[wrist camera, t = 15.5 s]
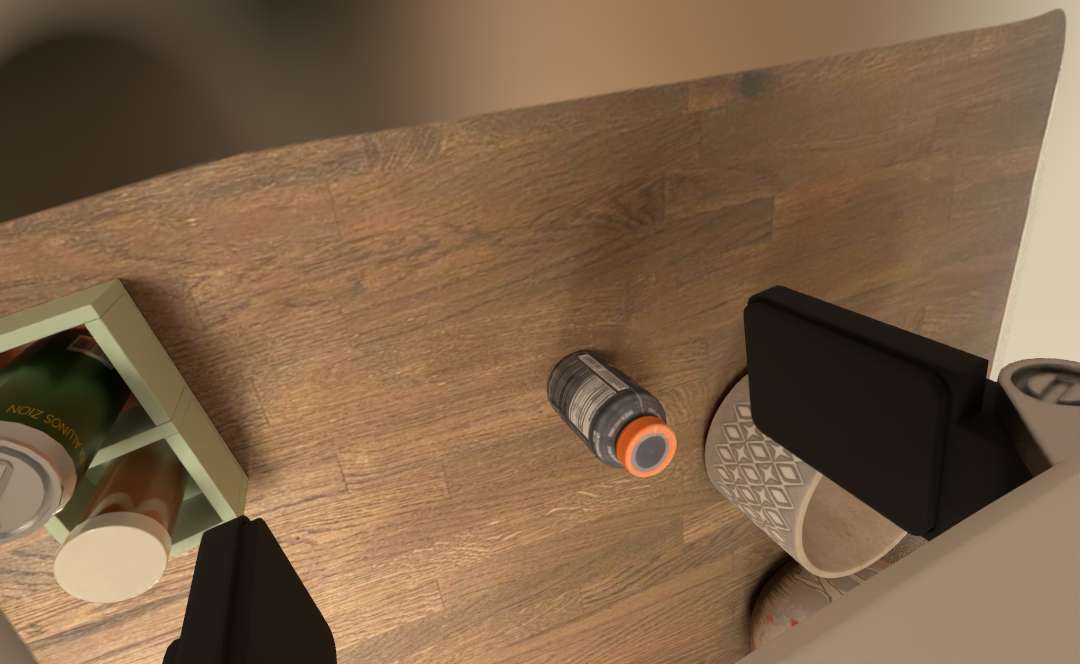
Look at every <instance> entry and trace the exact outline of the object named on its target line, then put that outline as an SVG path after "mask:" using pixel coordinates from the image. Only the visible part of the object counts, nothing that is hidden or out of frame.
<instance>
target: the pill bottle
mask: <svg viewBox="0 0 1080 664" xmlns="http://www.w3.org/2000/svg"><path fill="white" fill-rule="evenodd" d="M547 393H548V399H549V401H550V404H551V405H552V407H553V409H554V410H555V411H556V412H557V413H558V414H559V415H560V417H561V418H562V419H563V420H564V421H565V422H566V424H567V425H568V426H569V427H570V428H571V429H572V430H573V431H574V432H575V433H576V435H577V436H578V437H579V438H580V439H581V440H582V441H583V442H584V443H585V444H586V446H587V447H588V448H589V449H590V450H591V451H592V452H593V453H594V454H595V455H596V457H597V458H598V459H599V460H600V461H601V462H603V463H604V464H606V465H608V466H610V467H613V468H626V469H627V470H628V471H629V472H631V473H632V474H633V475H635V476H638V477H649V476H652V475H655V474H657V473H659V472H660V471H662V470H663V469H664V468H665V467H666V466H667V465H668V464H669V462H670V461H671V459H672V458H673V456H674V453H675V450H676V445H677V442H676V436H675V433H674V432H673V430H672V429H671V428H670V427H669V426H668V425H666V415H665V411H664V409H663V407H662V405H661V403H660V402H659V401H658V400H657V399H656V398H655V397H654V396H653V395H651V394H650V393H649V392H648V391H646V390H645V389H644V388H643V387H641V386H640V385H638V384H637V383H636V382H635V381H633V380H632V379H631V378H630V377H628V376H627V375H626V374H624V373H623V372H622V371H620V370H619V369H618V368H617V367H615V366H614V365H613V364H611V363H610V362H609V361H607V360H606V359H605V358H603V357H602V356H600V355H599V354H597V353H594V352H589V351H582V352H577V353H574V354H572V355H570V356H568V357H566V358H565V359H564V360H562V361H561V362H560V363H559V364H558V365H557V366H556V367H555V369H554V370H553V372H552V374H551V376H550V379H549V382H548V387H547Z"/></svg>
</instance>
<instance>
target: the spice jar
mask: <svg viewBox="0 0 1080 664" xmlns="http://www.w3.org/2000/svg"><path fill="white" fill-rule="evenodd" d="M189 478H190V474H189V472H188V471H187V469H186V468H185V466H184V465H183V464H182V462H181V461H180V459H179V458H178V457H177V455H176V454H175V452H174V451H173V450H172V448H171V447H170V445H169V444H168V442H167V441H166V440H165V438H163V439H160V440H158V441H155V442H153V443H150V444H148V445H146V446H143V447H141V448H138V449H136V450H133V451H131V452H128V453H126V454H124V455H121V456H119V457H116V458H114V459H111V460H110V461H109V463H108V464H107V466H106V468H105V470H104V472H103V474H102V476H101V478H100V480H99V481H98V483H97V485H96V487H95V489H94V491H93V493H92V495H91V497H90V498H89V500H88V502H87V504H86V506H85V508H84V510H83V512H82V514H81V516H80V517H79V519H78V521H77V523H76V525H75V527H74V529H73V530H72V531H71V532H70V533H69V535H68V536H67V537H66V539H65V541H64V543H63V545H62V546H61V548H60V550H59V552H58V554H57V556H56V558H55V561H54V575H55V578H56V580H57V582H58V584H59V585H60V586H61V588H62V589H63V590H65V591H66V592H67V593H69V594H70V595H72V596H74V597H76V598H78V599H81V600H85V601H89V602H96V603H111V602H119V601H123V600H127V599H130V598H133V597H135V596H138V595H140V594H142V593H144V592H145V591H147V590H148V589H150V588H151V587H152V586H154V585H155V584H156V583H157V582H158V581H159V579H160V578H161V577H162V575H163V574H164V572H165V569H166V566H167V563H168V559H169V556H170V552H171V541H172V537H173V534H174V530H175V527H176V523H177V520H178V516H179V513H180V509H181V506H182V502H183V499H184V495H185V492H186V488H187V485H188V481H189Z"/></svg>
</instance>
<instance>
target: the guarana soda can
mask: <svg viewBox="0 0 1080 664" xmlns="http://www.w3.org/2000/svg"><path fill="white" fill-rule="evenodd" d="M131 393H132V391H131V390H130V388H129V387H128V385H127V384H126V383H125V381H124V380H123V378H122V377H121V376H120V374H119V373H118V371H117V370H116V368H115V367H114V366H113V364H112V363H111V361H110V360H109V359H108V357H107V356H106V354H105V353H104V352H103V350H102V349H101V347H100V346H99V344H98V343H97V342H96V340H95V339H94V337H93V336H92V335H91V334H86V333H80V332H66V333H56V334H53V335H50V336H47V337H44V338H41V339H39V340H37V341H36V342H34V343H33V344H31V345H30V346H28V347H27V348H26V349H25V350H23V351H22V352H21V353H20V354H19V355H18V356H17V357H16V358H14V359H13V360H12V361H11V362H10V363H9V364H8V365H7V366H5V367H4V368H3V369H2V370H1V371H0V544H3V543H9V542H12V541H14V540H17V539H20V538H22V537H25V536H27V535H30V534H32V533H33V532H34V531H36V530H37V529H39V528H40V527H42V526H43V525H44V524H46V523H47V522H48V521H49V519H50V518H51V517H53V516H54V515H56V514H57V513H58V512H60V511H61V510H62V509H63V508H64V506H65V505H66V504H67V502H68V501H69V500H70V498H71V497H72V496H73V494H74V492H75V490H76V489H77V487H78V485H79V484H80V482H81V480H82V478H83V477H84V475H85V473H86V471H87V470H88V468H89V466H90V464H91V463H92V461H93V459H94V457H95V456H96V454H97V452H98V450H99V449H100V447H101V445H102V444H103V442H104V440H105V438H106V437H107V435H108V433H109V431H110V430H111V428H112V426H113V424H114V423H115V421H116V419H117V417H118V416H119V414H120V412H121V410H122V409H123V407H124V405H125V404H126V402H127V400H128V398H129V397H130V395H131Z"/></svg>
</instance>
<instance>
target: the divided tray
mask: <svg viewBox="0 0 1080 664" xmlns="http://www.w3.org/2000/svg"><path fill="white" fill-rule="evenodd" d="M66 332H80V333H86V334H91V335H92V336H93V337H94V339H95V340H96V342H97V343H98V344H99V346H100V347H101V349H102V350H103V352H104V353H105V354H106V356H107V357H108V359H109V360H110V361H111V363H112V364H113V366H114V367H115V368H116V370H117V371H118V373H119V374H120V376H121V377H122V378H123V380H124V381H125V383H126V384H127V385H128V387H129V388H130V390H131V391H132V393H131V395H130V397H129V398H128V400H127V402H126V404H125V405H124V407H123V409H122V410H121V412H120V414H119V416H118V417H117V419H116V421H115V423H114V424H113V426H112V428H111V430H110V431H109V433H108V435H107V437H106V438H105V440H104V442H103V444H102V445H101V447H100V449H99V450H98V452H97V454H96V456H95V457H94V459H93V461H92V463H91V464H90V466H89V468H88V470H87V471H86V473H85V475H84V477H83V478H82V480H81V482H80V484H79V485H78V487H77V489H76V490H75V492H74V494H73V496H72V497H71V498H70V500H69V501H68V502H67V504H66V505H65V506H64V508H63V509H62V510H61V511H60V512H58V513H57V514H56V515H54V516H53V517H51V518H50V519H49V521H48V522H47V523H46V524H44V525H43V526H44V527H45V528H46V530H47V531H48V532H49V533H50V534H51V535H52V536H53V537H54V538H55V539H56V540H57V542H58V543H59V544H60V545H61V546H62V545H63V543H64V541H65V539H66V537H67V536H68V535H69V533H70V532H71V531H72V530H73V529H74V527H75V525H76V523H77V521H78V519H79V517H80V516H81V514H82V512H83V510H84V508H85V506H86V504H87V502H88V500H89V498H90V497H91V495H92V493H93V491H94V489H95V487H96V485H97V483H98V481H99V480H100V478H101V476H102V474H103V472H104V470H105V468H106V466H107V464H108V463H109V461H110V460H111V459H114V458H116V457H119V456H121V455H124V454H126V453H128V452H131V451H133V450H136V449H138V448H141V447H143V446H146V445H148V444H150V443H153V442H155V441H158V440H160V439H163V438H165V440H166V441H167V442H168V444H169V445H170V447H171V448H172V450H173V451H174V452H175V454H176V455H177V457H178V458H179V459H180V461H181V462H182V464H183V465H184V466H185V468H186V469H187V471H188V472H189V474H190V478H189V481H188V485H187V488H186V492H185V495H184V499H183V502H182V506H181V509H180V513H179V516H178V520H177V523H176V527H175V530H174V534H173V537H172V541H171V552H170V556H169V558H171V557H174V556H176V555H178V554H180V553H182V552H184V551H187V550H189V549H191V548H193V547H195V546H198V545H200V542H201V537H202V535H203V533H204V532H205V531H206V530H209V529H211V528H213V527H216V526H218V525H220V524H223V523H225V522H227V521H230V520H232V519H234V518H237V517H239V516H241V515H244V510H245V502H246V494H247V486H248V477H247V476H246V474H245V473H244V471H243V470H242V468H241V466H240V465H239V463H238V462H237V460H236V459H235V457H234V456H233V454H232V453H231V451H230V450H229V448H228V446H227V445H226V443H225V442H224V440H223V439H222V437H221V436H220V434H219V433H218V431H217V430H216V428H215V426H214V425H213V423H212V422H211V420H210V419H209V417H208V416H207V414H206V413H205V411H204V409H203V408H202V406H201V405H200V403H199V402H198V400H197V399H196V397H195V396H194V394H193V393H192V391H191V389H190V388H189V386H188V385H187V383H186V382H185V380H184V379H183V377H182V376H181V374H180V373H179V371H178V369H177V368H176V366H175V365H174V363H173V362H172V360H171V359H170V357H169V356H168V354H167V352H166V351H165V349H164V348H163V346H162V345H161V343H160V342H159V340H158V339H157V337H156V336H155V334H154V332H153V331H152V329H151V328H150V326H149V325H148V323H147V322H146V320H145V319H144V317H143V316H142V314H141V312H140V311H139V309H138V308H137V306H136V305H135V303H134V302H133V300H132V299H131V297H130V295H129V294H128V292H127V291H126V289H125V288H124V286H123V285H122V283H121V282H120V280H119V279H118V278H117V279H114V280H111V281H108V282H105V283H102V284H99V285H96V286H93V287H90V288H87V289H84V290H81V291H78V292H75V293H72V294H69V295H66V296H63V297H61V298H58V299H55V300H52V301H49V302H46V303H43V304H40V305H37V306H34V307H31V308H28V309H25V310H22V311H19V312H16V313H13V314H10V315H7V316H5V317H2V318H0V371H1V370H2V369H3V368H4V367H5V366H7V365H8V364H9V363H10V362H11V361H12V360H13V359H14V358H16V357H17V356H18V355H19V354H20V353H21V352H22V351H23V350H25V349H26V348H27V347H28V346H30V345H31V344H33V343H34V342H36V341H37V340H39V339H41V338H44V337H47V336H50V335H53V334H56V333H66Z"/></svg>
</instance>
